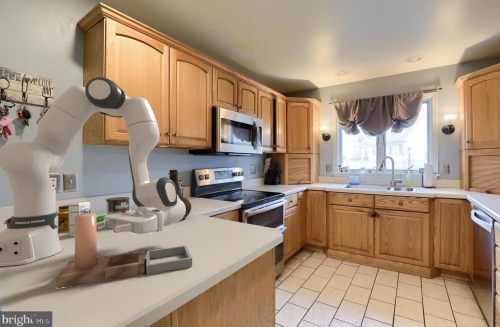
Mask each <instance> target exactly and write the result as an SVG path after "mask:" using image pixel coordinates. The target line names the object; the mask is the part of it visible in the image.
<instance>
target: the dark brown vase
mask: <svg viewBox="0 0 500 327" xmlns="http://www.w3.org/2000/svg"><path fill="white" fill-rule="evenodd" d="M178 170H179V169H170V170H169V172H168V173H167V174H168V175H169V179H171V180H172V181H173V182H174V184H175V185H176V189H177V195H178V197H179V199H180V200H181V201H182V202H183V203H184V204H185V207H186V212H185V215H184V217H183V218H182V219H181V220H184V219H185V218H187V217H188V216H189V215H190V213H191V210H192V202H190V200H189V199H188V198H187V197H184V196H183V194H181V190H180V185H179V175H178V174H179V173H180V172H179V171H178Z"/></svg>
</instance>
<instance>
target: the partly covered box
mask: <svg viewBox="0 0 500 327" xmlns="http://www.w3.org/2000/svg"><path fill="white" fill-rule="evenodd" d="M145 252H146V251H145V250H139V251H138V250H137V251H134V252H133V251H131V252H125V253H118V254H110V255H104V256H97V264H96V265H95V266H93V267H90V268H86V269H76V268H75V260H70V261H69V262H68V263H67V264H66V265H65V266H64V268H63V269H61V271H60V272H59V274H58V275H57V276H56V281H55V282H56V286H55V287H56V288H62V287H67V288H71V287H70V286H73V287H77V286H76V285H79V286H83V284H84V285H89V284H95V283H100V282H106V281H112V280H116V279H122V278H129V277H135V276H139V275H145V264H146V262H145V261H146V260H145ZM62 289H63V288H62Z"/></svg>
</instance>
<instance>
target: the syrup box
mask: <svg viewBox="0 0 500 327" xmlns="http://www.w3.org/2000/svg"><path fill="white" fill-rule="evenodd" d="M68 205H69V231H70V232H69V237H74V238H75V222H74V216H76V215H80V214H87V213H91V202H90V201H79V202H72V203H69V204H68Z"/></svg>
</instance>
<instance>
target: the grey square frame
mask: <svg viewBox="0 0 500 327" xmlns="http://www.w3.org/2000/svg"><path fill="white" fill-rule="evenodd" d="M177 255H184V256H185V258H184V257H183V258H178V259H173V260H166V261H161V262H154V263H150V262H151V260H153V259H157V258H158V259H159V258H163V257H164V258H165V257H170V256H171V257H172V256H177ZM152 258H153V259H152ZM191 267H193V257H192V255H191V253H190V251H189V248H188V246H187V245H185V244H184V245H179V246H172V247H165V248H159V249H158V248H157V249H151V250H146V275H151V274H152V275H153V274H159V273H165V272H169V271H173V270H175V271H176V270H180V269H186V268H187V269H188V268H191Z"/></svg>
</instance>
